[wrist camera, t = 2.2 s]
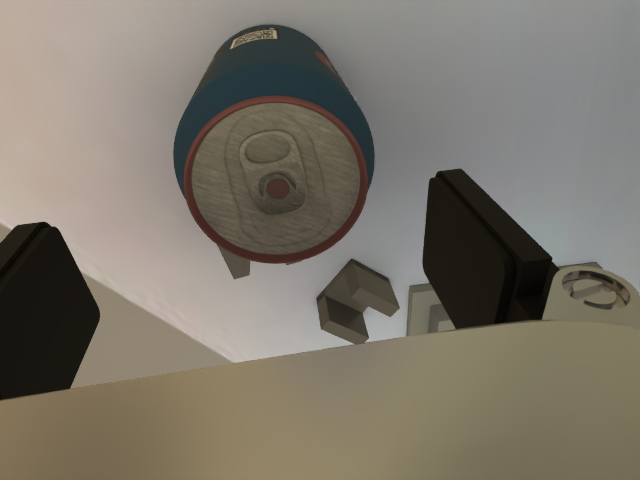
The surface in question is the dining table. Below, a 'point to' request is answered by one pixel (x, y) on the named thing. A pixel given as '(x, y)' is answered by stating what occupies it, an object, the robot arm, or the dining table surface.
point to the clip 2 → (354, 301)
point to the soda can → (273, 149)
